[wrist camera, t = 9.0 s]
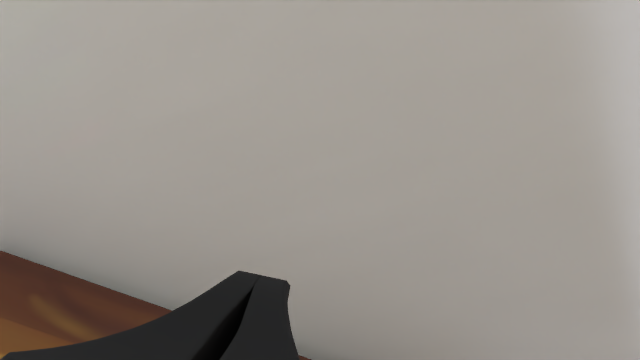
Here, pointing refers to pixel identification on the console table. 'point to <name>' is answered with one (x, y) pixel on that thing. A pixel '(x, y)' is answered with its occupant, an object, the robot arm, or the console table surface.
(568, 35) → the console table surface
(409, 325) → the console table surface
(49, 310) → the diary
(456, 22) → the console table surface
